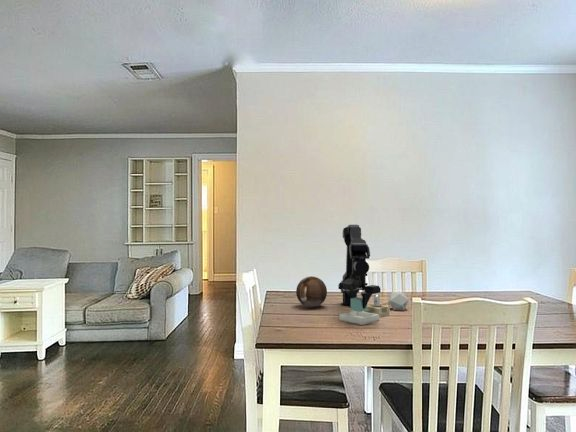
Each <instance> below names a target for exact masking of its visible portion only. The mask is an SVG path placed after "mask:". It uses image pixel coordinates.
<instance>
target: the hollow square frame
mask: <svg viewBox="0 0 576 432" xmlns="http://www.w3.org/2000/svg"><path fill="white" fill-rule="evenodd" d="M363 312H367V313H373V314H378V315H379V319H381V318H384V317H388V316H390V305H384V304H380V307H374V303H372V304H367V310H366V311H363Z"/></svg>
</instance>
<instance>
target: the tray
mask: <svg viewBox="0 0 576 432" xmlns="http://www.w3.org/2000/svg"><path fill="white" fill-rule="evenodd" d="M338 315H339V316H338V318H339V319H338V321H341V322H345V323H349V324H354V325H359V326H364V325H368V324H371V323H375V322H378V321H380V318H379V315H378V314H373V313H367V312H364V311H362V312H358V311H353V310H352V311H349V312H344V313H341V314H338Z"/></svg>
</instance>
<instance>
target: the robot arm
mask: <svg viewBox="0 0 576 432" xmlns="http://www.w3.org/2000/svg"><path fill="white" fill-rule="evenodd" d="M342 238H343V241H344V244H345V246H346V253H345V254H346V256H345V257H346V258H345V259H346V260H345V261H346V262H345V272H344V274H343V275H342V280H341V281H340V282H339V283H338V290H340V293H341V294H342V302H340V305H343V306H349V307H351V298H355V297H358V293H360V295H361V298H362V299H363V309H365V308H366V305H368V303H369V301H370V299H371V297H372V295H377V294H379V293H381V286H380V285H376V284H375V285H374V284H371V285H368V282H367V281H366V279H367V278H366V277H368V272H369V270H370V265H369V262H367V260H368V259H370V257H371V252H370V251H371V250H370V247H369V245H368V244H367V241H366V240H365V239H363V238H362V228H361V227H360V225H359V224H348V225H347V226H346V227H344V228H343V229H342ZM360 291H363V292H360Z"/></svg>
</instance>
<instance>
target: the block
mask: <svg viewBox="0 0 576 432" xmlns="http://www.w3.org/2000/svg"><path fill="white" fill-rule="evenodd" d="M367 305H368V304H367ZM367 305H366V308H365V309H363V299H362V296H361V297H360V296H357V297H355V298H351V306H350V311H352V312H353V311H358V312H364V311H366V310H367Z"/></svg>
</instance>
